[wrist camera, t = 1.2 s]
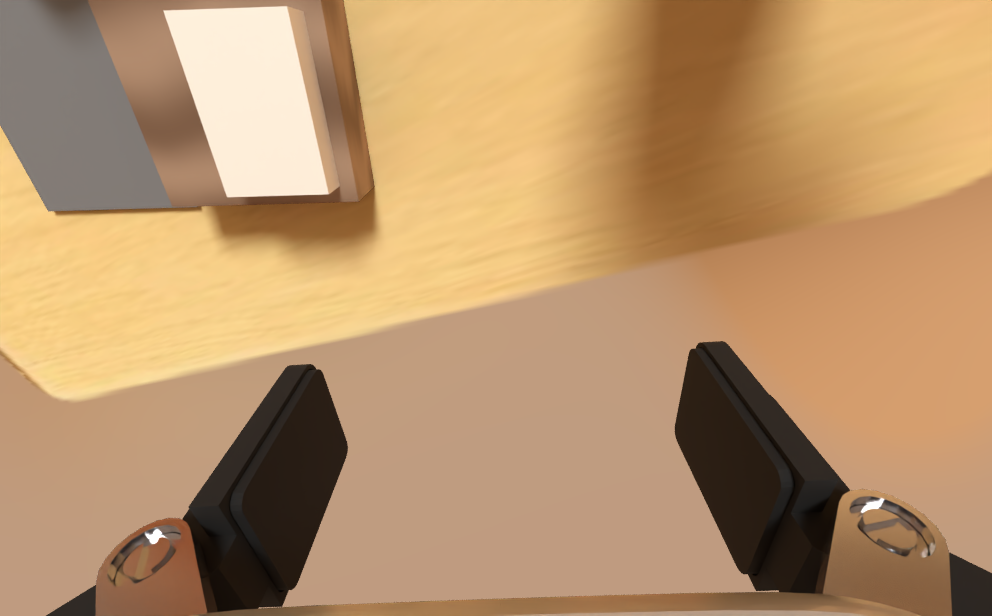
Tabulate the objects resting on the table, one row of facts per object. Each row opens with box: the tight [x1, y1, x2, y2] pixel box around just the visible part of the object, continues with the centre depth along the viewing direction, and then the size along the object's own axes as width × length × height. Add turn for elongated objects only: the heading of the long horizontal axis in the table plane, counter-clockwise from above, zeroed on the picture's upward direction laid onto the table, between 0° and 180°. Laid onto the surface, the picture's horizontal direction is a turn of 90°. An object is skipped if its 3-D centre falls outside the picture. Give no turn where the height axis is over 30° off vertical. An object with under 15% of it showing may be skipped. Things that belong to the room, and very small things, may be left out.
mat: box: [0, 0, 198, 211], centre depth 28 cm, size 13×11×1 cm
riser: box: [88, 0, 374, 207], centre depth 26 cm, size 11×12×4 cm
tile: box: [164, 6, 340, 197], centre depth 23 cm, size 9×6×2 cm, turn 2°
